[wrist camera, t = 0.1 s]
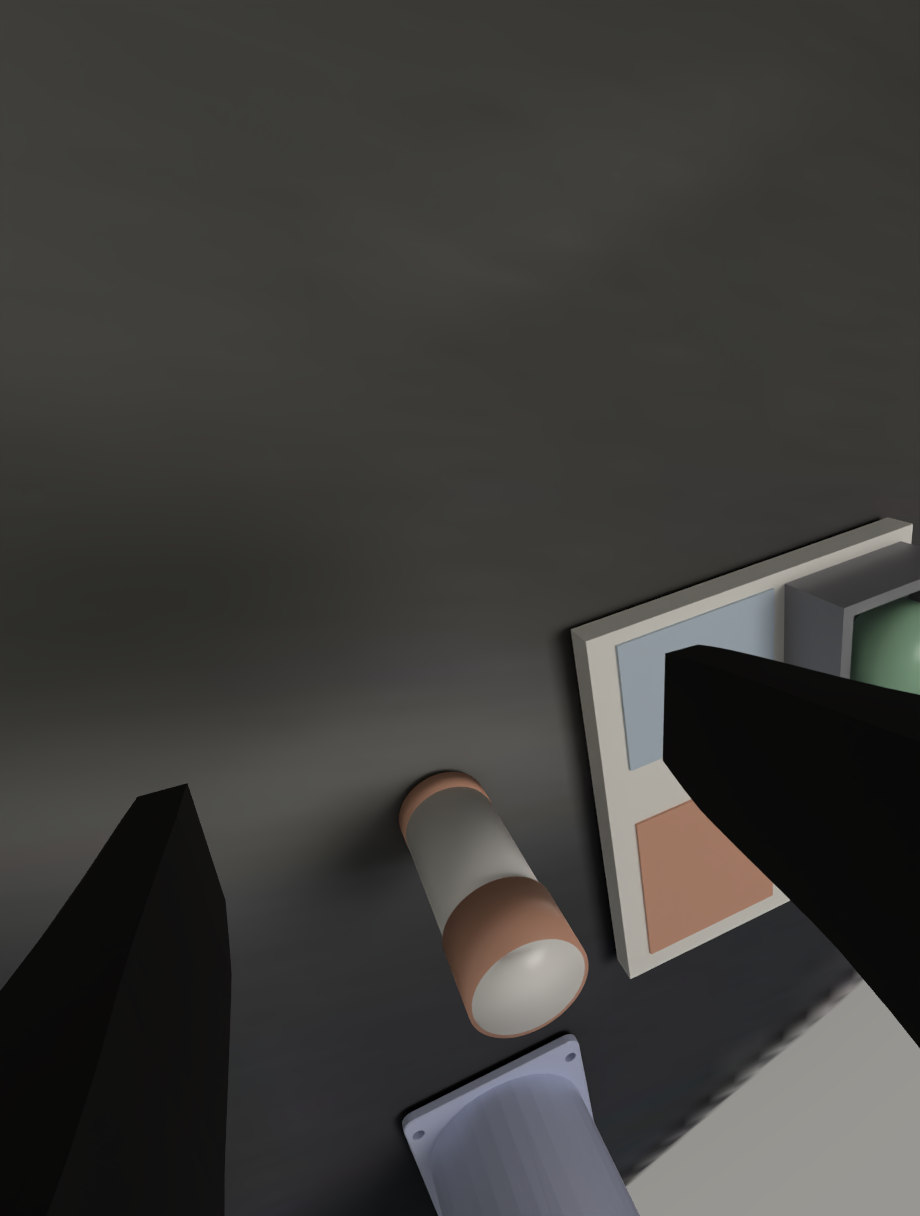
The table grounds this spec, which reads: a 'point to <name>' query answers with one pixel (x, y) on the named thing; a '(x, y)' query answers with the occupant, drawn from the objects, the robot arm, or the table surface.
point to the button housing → (844, 604)
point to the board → (633, 751)
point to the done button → (888, 646)
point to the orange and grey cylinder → (490, 910)
